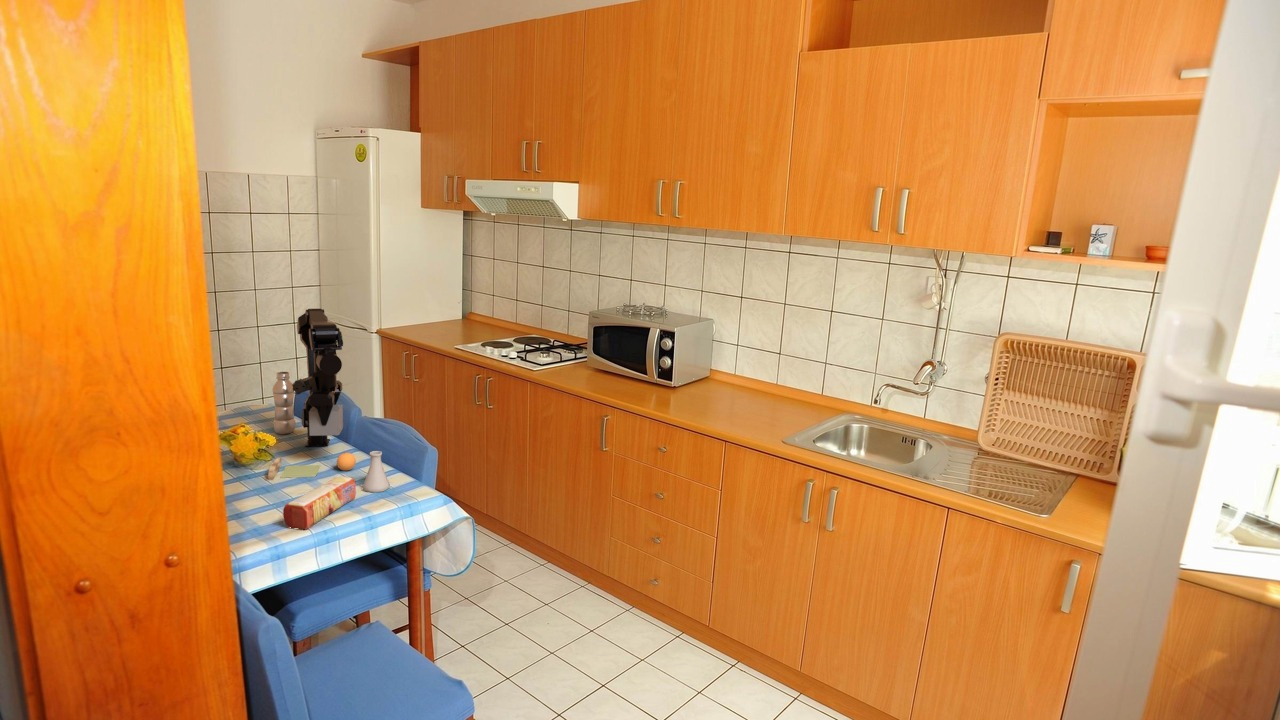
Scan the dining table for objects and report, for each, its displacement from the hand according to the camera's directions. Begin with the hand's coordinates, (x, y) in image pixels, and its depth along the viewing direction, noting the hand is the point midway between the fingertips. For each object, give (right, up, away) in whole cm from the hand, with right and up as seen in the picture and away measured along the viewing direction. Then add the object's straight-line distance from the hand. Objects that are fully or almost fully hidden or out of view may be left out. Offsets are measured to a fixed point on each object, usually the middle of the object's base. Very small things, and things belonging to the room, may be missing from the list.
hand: (326, 421), depth 210 cm
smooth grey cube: (0, -3, +1) cm, 3 cm away
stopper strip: (-12, -14, -6) cm, 19 cm away
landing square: (-5, -14, -4) cm, 15 cm away
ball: (+6, -11, -2) cm, 13 cm away
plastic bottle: (-26, -6, +28) cm, 39 cm away
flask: (+19, -17, -13) cm, 28 cm away
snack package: (+12, -20, -30) cm, 38 cm away
